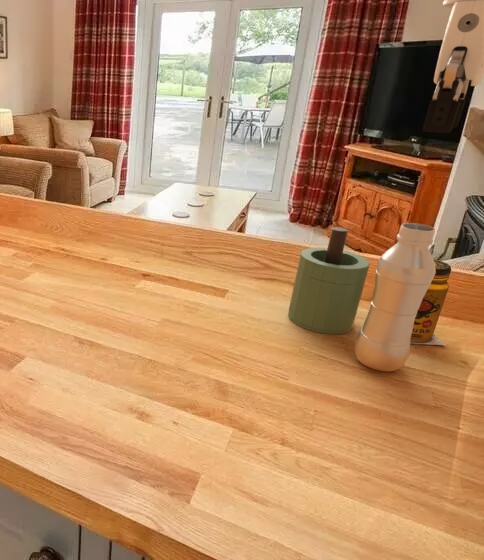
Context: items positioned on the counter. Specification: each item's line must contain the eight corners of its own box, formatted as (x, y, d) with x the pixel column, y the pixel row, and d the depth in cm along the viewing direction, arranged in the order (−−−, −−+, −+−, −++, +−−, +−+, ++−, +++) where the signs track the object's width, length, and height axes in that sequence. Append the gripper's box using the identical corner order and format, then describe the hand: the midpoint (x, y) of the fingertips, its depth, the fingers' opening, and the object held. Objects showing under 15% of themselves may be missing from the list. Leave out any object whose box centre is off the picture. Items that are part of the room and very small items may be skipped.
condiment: (394, 342, 74) (417, 269, 70) (370, 317, 82) (390, 249, 77) (446, 346, 73) (472, 272, 69) (417, 320, 81) (439, 252, 77)
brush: (333, 316, 81) (355, 228, 75) (327, 324, 78) (350, 234, 72) (311, 309, 83) (330, 224, 77) (304, 317, 80) (324, 229, 75)
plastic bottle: (410, 365, 68) (456, 228, 61) (393, 383, 64) (440, 238, 56) (361, 347, 73) (398, 216, 65) (342, 363, 69) (379, 225, 61)
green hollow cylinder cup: (358, 318, 81) (375, 256, 77) (343, 340, 75) (361, 274, 70) (298, 302, 87) (311, 243, 83) (279, 321, 80) (292, 258, 76)
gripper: (518, -21, 55) (468, 137, 62) (518, -3, 67) (476, 127, 74) (438, -15, 59) (399, 132, 66) (451, 1, 72) (417, 123, 78)
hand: (439, 129), depth 70 cm, fingers open, 9 cm apart
